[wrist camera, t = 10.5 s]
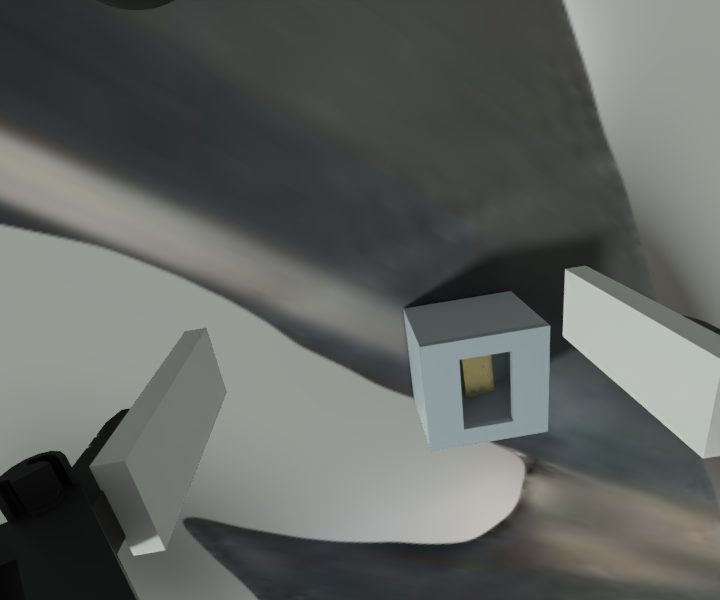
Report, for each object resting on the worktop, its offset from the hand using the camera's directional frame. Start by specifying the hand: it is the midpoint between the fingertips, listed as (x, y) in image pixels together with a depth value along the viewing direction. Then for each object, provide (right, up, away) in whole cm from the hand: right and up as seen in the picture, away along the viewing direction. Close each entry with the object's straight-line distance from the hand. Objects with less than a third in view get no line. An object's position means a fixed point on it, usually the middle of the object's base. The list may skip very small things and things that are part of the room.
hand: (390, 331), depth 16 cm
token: (+11, -5, +33) cm, 35 cm away
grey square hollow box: (+10, -4, +33) cm, 35 cm away
